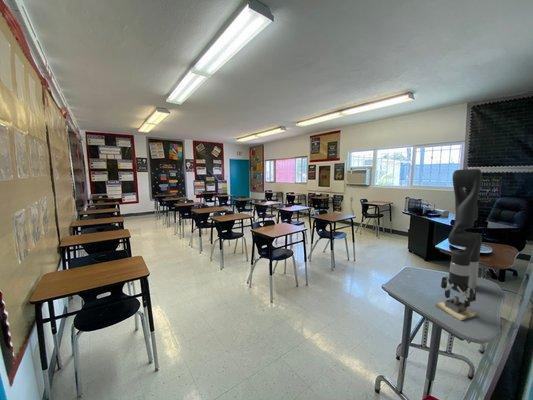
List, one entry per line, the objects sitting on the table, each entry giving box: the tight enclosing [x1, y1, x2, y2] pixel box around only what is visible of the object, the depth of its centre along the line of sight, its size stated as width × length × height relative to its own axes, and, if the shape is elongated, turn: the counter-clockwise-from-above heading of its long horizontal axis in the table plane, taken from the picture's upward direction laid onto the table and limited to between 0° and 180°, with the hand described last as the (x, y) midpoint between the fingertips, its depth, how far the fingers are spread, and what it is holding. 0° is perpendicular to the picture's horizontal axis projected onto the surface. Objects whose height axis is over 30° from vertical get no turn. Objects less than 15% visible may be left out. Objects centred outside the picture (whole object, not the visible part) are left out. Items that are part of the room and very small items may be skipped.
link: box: [445, 298, 468, 313], centre depth 114 cm, size 6×6×3 cm
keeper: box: [435, 295, 478, 321], centre depth 114 cm, size 11×12×7 cm
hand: (456, 302), depth 114 cm, fingers open, 8 cm apart
